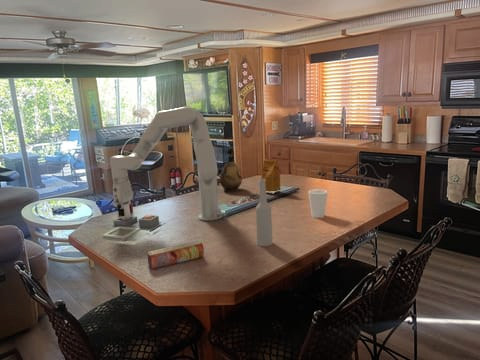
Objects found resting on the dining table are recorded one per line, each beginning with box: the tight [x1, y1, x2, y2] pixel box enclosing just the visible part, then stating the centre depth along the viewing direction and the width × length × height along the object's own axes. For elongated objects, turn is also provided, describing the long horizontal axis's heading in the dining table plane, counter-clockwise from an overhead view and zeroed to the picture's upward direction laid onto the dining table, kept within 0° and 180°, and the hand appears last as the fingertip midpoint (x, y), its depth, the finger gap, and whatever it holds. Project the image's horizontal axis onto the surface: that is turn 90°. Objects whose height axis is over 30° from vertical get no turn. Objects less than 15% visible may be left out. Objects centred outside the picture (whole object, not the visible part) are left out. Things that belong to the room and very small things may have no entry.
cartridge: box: [119, 201, 132, 221], centre depth 185 cm, size 5×5×10 cm
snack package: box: [146, 239, 205, 270], centre depth 140 cm, size 21×7×7 cm, turn 115°
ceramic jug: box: [219, 146, 243, 192], centre depth 249 cm, size 17×15×30 cm
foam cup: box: [308, 188, 328, 219], centre depth 185 cm, size 10×9×13 cm
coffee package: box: [260, 158, 281, 191], centre depth 238 cm, size 10×12×22 cm
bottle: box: [255, 178, 273, 247], centre depth 151 cm, size 7×7×28 cm
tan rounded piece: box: [143, 214, 153, 219], centre depth 181 cm, size 4×4×4 cm
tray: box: [102, 226, 141, 243], centre depth 172 cm, size 12×12×2 cm
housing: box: [112, 214, 163, 233], centre depth 184 cm, size 23×10×6 cm, turn 69°
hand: (125, 214), depth 186 cm, fingers closed on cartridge, 5 cm apart
